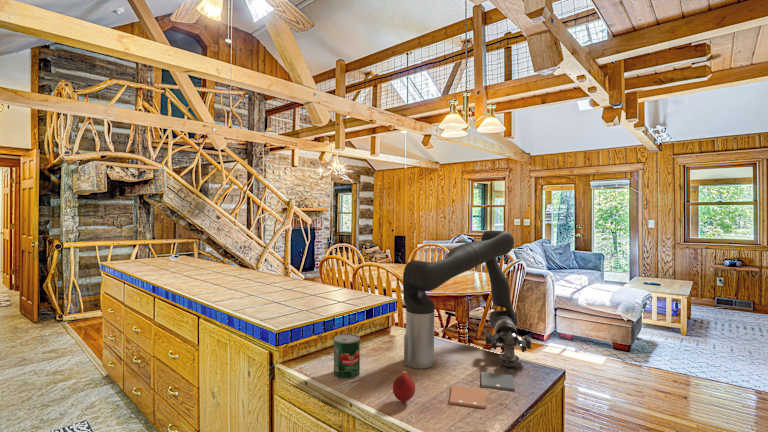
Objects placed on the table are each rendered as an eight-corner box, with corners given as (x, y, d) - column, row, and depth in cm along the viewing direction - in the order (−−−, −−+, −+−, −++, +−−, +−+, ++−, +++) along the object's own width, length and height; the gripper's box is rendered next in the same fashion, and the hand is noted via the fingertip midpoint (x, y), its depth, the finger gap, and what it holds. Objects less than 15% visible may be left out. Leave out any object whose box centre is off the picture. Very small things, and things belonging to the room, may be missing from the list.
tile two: (449, 403, 99) (449, 401, 99) (452, 387, 107) (452, 385, 107) (485, 408, 96) (485, 406, 96) (485, 392, 105) (485, 389, 105)
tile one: (481, 386, 108) (481, 384, 108) (481, 373, 117) (481, 371, 117) (514, 390, 106) (514, 388, 106) (512, 377, 115) (512, 375, 115)
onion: (408, 410, 95) (408, 378, 95) (388, 404, 98) (388, 373, 98) (418, 400, 100) (419, 370, 100) (399, 394, 103) (400, 365, 103)
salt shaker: (520, 373, 118) (520, 334, 117) (500, 371, 119) (500, 332, 119) (517, 365, 123) (518, 328, 123) (498, 363, 125) (499, 327, 124)
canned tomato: (345, 366, 121) (345, 332, 121) (365, 372, 116) (365, 337, 116) (328, 375, 115) (328, 338, 114) (348, 382, 110) (348, 344, 110)
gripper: (485, 320, 138) (486, 334, 123) (527, 323, 135) (533, 338, 119) (485, 340, 139) (485, 357, 123) (526, 344, 135) (532, 362, 119)
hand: (509, 347), depth 121 cm, fingers open, 8 cm apart
